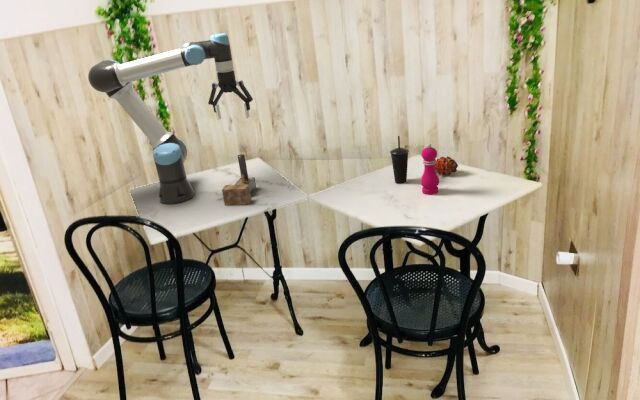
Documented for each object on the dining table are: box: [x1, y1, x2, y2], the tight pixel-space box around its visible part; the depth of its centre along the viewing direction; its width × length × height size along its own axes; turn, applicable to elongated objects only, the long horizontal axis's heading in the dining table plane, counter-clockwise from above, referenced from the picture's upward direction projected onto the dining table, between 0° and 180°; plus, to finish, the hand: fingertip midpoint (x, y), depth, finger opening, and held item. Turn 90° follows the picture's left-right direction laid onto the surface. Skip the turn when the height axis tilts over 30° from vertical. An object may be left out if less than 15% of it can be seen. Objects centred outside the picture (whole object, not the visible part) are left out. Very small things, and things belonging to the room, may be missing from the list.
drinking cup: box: [389, 135, 410, 185], centre depth 217 cm, size 8×8×20 cm
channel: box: [234, 176, 257, 197], centre depth 228 cm, size 7×10×5 cm
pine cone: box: [435, 156, 459, 177], centre depth 223 cm, size 8×8×12 cm
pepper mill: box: [420, 143, 440, 196], centre depth 204 cm, size 7×7×20 cm
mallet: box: [236, 153, 252, 185], centre depth 222 cm, size 4×15×15 cm, turn 170°
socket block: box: [221, 184, 252, 206], centre depth 218 cm, size 10×5×7 cm, turn 80°
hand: (233, 118), depth 236 cm, fingers open, 13 cm apart
